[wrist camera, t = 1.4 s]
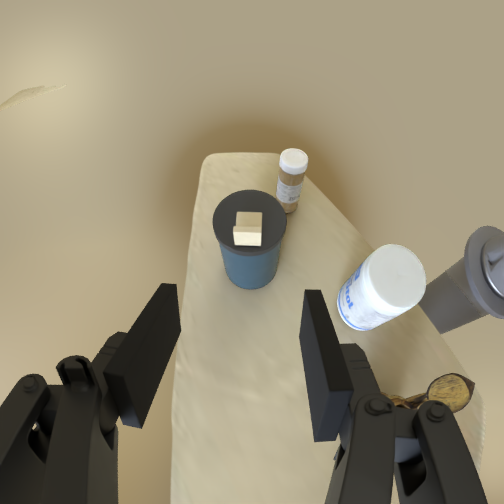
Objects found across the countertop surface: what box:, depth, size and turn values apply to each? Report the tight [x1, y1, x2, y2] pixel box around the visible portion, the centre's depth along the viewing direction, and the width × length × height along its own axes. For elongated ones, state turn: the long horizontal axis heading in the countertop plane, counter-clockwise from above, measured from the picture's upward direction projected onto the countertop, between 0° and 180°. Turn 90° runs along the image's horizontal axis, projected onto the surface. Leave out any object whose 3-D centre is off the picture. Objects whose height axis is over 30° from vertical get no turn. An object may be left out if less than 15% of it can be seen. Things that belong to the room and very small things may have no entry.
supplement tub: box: [337, 244, 426, 331], centre depth 42 cm, size 10×10×15 cm
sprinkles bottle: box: [276, 148, 308, 213], centre depth 52 cm, size 5×5×13 cm
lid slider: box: [233, 212, 262, 246], centre depth 36 cm, size 4×3×3 cm
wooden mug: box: [381, 373, 475, 413], centre depth 33 cm, size 9×14×18 cm, turn 113°
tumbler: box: [213, 190, 287, 289], centre depth 46 cm, size 10×10×15 cm
